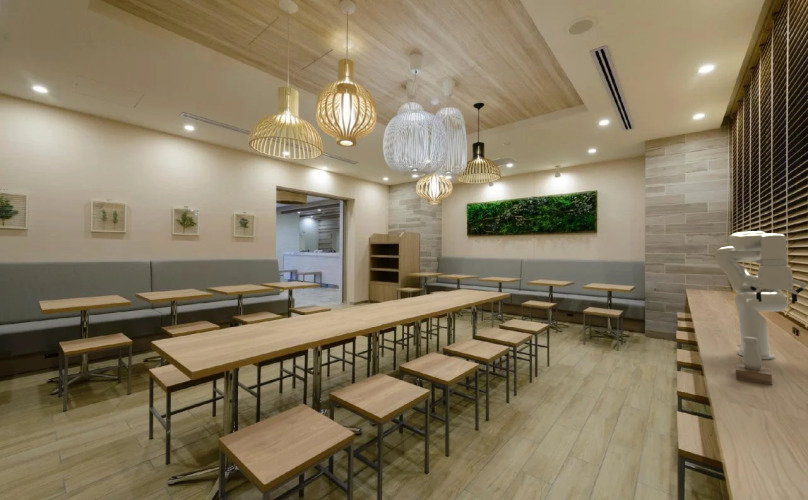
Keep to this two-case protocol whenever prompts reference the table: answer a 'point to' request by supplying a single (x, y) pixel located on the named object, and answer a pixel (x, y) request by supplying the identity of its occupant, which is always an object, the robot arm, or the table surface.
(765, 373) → the block
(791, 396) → the table surface
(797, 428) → the table surface
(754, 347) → the salt shaker
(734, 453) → the table surface
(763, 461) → the table surface
